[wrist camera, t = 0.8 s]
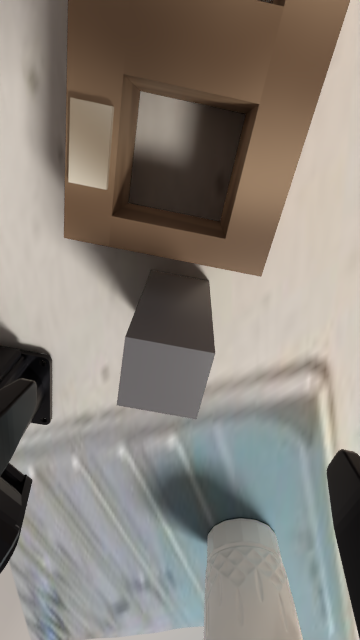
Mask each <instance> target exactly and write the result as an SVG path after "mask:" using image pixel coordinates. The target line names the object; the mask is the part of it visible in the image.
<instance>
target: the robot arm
mask: <svg viewBox="0 0 360 640" xmlns="http://www.w3.org/2000/svg"><path fill="white" fill-rule="evenodd" d="M42 360H43V361H45V362H46V363H44V362H43V361H42ZM45 418H46V419H45ZM51 419H52V359H51V357H50V356H48V355H46V354H41V353H36V352H30V351H25V350H19V349H14V348H8V347H3V346H0V573H1V572H2V570H3V569H4V568H5V566H6V565H7V563H8V561H9V560H10V558H11V556H12V554H13V552H14V550H15V548H16V546H17V543H18V539H19V536H20V532H21V527H22V523H23V519H24V514H25V510H26V506H27V501H28V497H29V493H30V488H31V484H32V479H31V478H29V477H28V476H27V475H23V474H22V473H21V472H20V471H18V470H17V469H16V468H15V467H14V466H13V465H11V464H10V463H9V461H10V459H11V458H12V456H13V454H14V452H15V450H16V448H17V446H18V443H19V441H20V439H21V437H22V436H23V434H24V432H25V431H26V429H27V427H28V426H29V424H30V422H31V423H37V424H42V425H47V424H49V423H50V421H51ZM327 479H328V487H329V495H330V502H331V510H332V518H333V524H334V530H335V535H336V539H337V544H338V548H339V552H340V557H341V561H342V565H343V569H344V574H345V578H346V582H347V587H348V591H349V595H350V600H351V604H352V608H353V613H354V617H355V621H356V626H357V630H358V634H359V638H360V456H359V455H358V454H357V453H355V452H353V451H348V450H344V449H341V450H339V451H338V452H337V454H336V455H335V457H334V458H333V460H332V461H331V463H330V464H329V466H328V468H327Z"/></svg>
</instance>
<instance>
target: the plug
mask: <svg viewBox="0 0 360 640" xmlns="http://www.w3.org/2000/svg"><path fill="white" fill-rule="evenodd" d="M214 356H215V346H214V334H213V322H212V310H211V298H210V286H209V281H206V280H201V279H196V278H191V277H186V276H181V275H176V274H170V273H165V272H160V271H155V270H151V272H150V274H149V277H148V280H147V282H146V285H145V287H144V290H143V293H142V295H141V298H140V300H139V303H138V305H137V308H136V311H135V313H134V316H133V318H132V321H131V324H130V326H129V329H128V331H127V334H126V336H125V344H124V352H123V360H122V368H121V376H120V384H119V392H118V400H117V405H119V406H124V407H130V408H136V409H141V410H147V411H153V412H158V413H164V414H170V415H176V416H181V417H187V418H193V419H197V415H198V412H199V408H200V405H201V401H202V398H203V394H204V391H205V387H206V384H207V380H208V377H209V373H210V370H211V366H212V363H213V359H214Z"/></svg>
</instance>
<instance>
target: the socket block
mask: <svg viewBox="0 0 360 640" xmlns="http://www.w3.org/2000/svg"><path fill="white" fill-rule="evenodd" d="M349 3H350V0H273V2H272V4H271V3H267V2H262V1H258V0H68V35H67V92H66V150H65V207H64V238H67V239H72V240H78V241H83V242H88V243H93V244H98V245H103V246H108V247H113V248H118V249H124V250H129V251H134V252H139V253H144V254H149V255H154V256H159V257H164V258H169V259H175V260H180V261H185V262H190V263H195V264H200V265H205V266H210V267H215V268H221V269H226V270H231V271H236V272H241V273H246V274H251V275H256V276H262V272H263V269H264V266H265V263H266V260H267V257H268V254H269V251H270V248H271V244H272V241H273V238H274V235H275V232H276V229H277V226H278V223H279V220H280V217H281V213H282V210H283V207H284V204H285V201H286V198H287V195H288V192H289V189H290V186H291V182H292V179H293V176H294V173H295V170H296V167H297V164H298V161H299V158H300V155H301V151H302V148H303V145H304V142H305V139H306V136H307V133H308V130H309V127H310V124H311V120H312V117H313V114H314V111H315V108H316V105H317V102H318V99H319V96H320V93H321V89H322V86H323V83H324V80H325V77H326V74H327V71H328V68H329V65H330V61H331V58H332V55H333V52H334V49H335V46H336V43H337V40H338V37H339V34H340V30H341V27H342V24H343V21H344V18H345V15H346V12H347V9H348V6H349ZM140 91H143V92H147V93H152V94H157V95H161V96H166V97H170V98H175V99H180V100H184V101H189V102H193V103H198V104H203V105H207V106H212V107H216V108H221V109H226V110H230V111H235V112H239V113H244V114H246V115H245V119H244V123H243V128H242V132H241V136H240V140H239V144H238V148H237V153H236V157H235V161H234V165H233V169H232V174H231V178H230V182H229V186H228V190H227V195H226V199H225V203H224V207H223V211H222V215H221V220H220V221H215V220H210V219H205V218H200V217H196V216H191V215H186V214H181V213H176V212H171V211H166V210H161V209H156V208H151V207H146V206H141V205H136V204H131V203H128V202H129V193H130V183H131V174H132V165H133V155H134V146H135V136H136V127H137V117H138V108H139V98H140Z"/></svg>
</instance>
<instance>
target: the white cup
mask: <svg viewBox="0 0 360 640" xmlns="http://www.w3.org/2000/svg"><path fill="white" fill-rule="evenodd" d="M204 640H303V637H302V633H301V628H300V624H299V620H298V616H297V612H296V608H295V604H294V600H293V597H292V593H291V590H290V587H289V582H288V578H287V574H286V571H285V568H284V566H283V563H282V559H281V554H280V550H279V546H278V542H277V537H276V534H275V533H274V532H273V530H272V529H271V528H270V527H269V526H268V525H266V524H264V523H262V522H259V521H257V520H252V519H244V518H238V519H232V520H226V521H223V522H221V523H219V524H218V525H216V526H214V527H213V528H212V530H211V531H210V532H209V534H208V538H207V568H206V579H205V603H204Z"/></svg>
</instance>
